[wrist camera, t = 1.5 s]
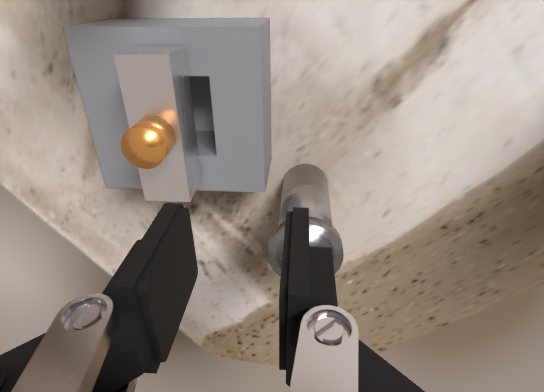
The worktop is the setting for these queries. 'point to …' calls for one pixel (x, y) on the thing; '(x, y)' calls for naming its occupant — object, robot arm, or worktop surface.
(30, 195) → the worktop surface
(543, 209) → the worktop surface
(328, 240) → the grey capped cylinder
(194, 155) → the bar
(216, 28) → the block
